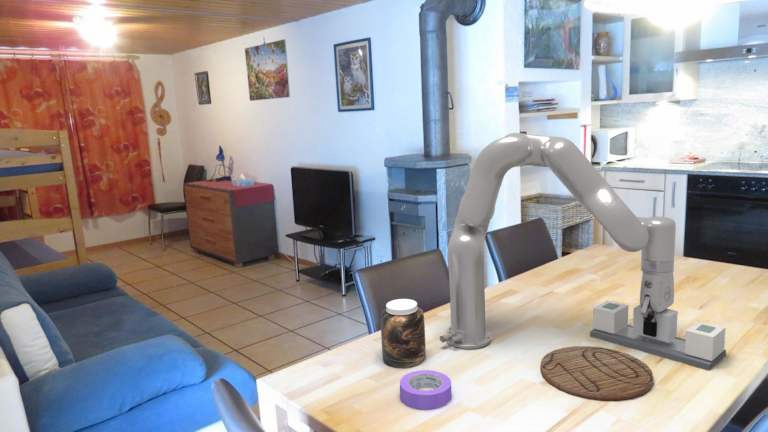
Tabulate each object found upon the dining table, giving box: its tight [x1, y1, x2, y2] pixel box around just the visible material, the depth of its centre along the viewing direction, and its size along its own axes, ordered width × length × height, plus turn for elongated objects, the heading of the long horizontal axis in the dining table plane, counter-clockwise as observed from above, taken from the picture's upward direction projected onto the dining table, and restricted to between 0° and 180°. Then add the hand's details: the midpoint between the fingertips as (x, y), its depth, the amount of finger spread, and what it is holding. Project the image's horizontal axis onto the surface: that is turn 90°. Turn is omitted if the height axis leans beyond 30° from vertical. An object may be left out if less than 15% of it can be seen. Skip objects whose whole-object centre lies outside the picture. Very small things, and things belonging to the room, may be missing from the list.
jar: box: [380, 298, 427, 369], centre depth 142 cm, size 12×12×15 cm
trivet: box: [539, 345, 654, 402], centre depth 129 cm, size 25×25×2 cm
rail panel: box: [589, 324, 727, 371], centre depth 143 cm, size 11×30×2 cm, turn 41°
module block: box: [632, 304, 679, 342], centre depth 142 cm, size 5×9×7 cm, turn 41°
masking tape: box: [399, 369, 452, 411], centre depth 123 cm, size 12×12×4 cm
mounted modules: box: [592, 300, 726, 361], centre depth 142 cm, size 8×30×6 cm, turn 41°
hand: (654, 331), depth 142 cm, fingers closed on module block, 4 cm apart
